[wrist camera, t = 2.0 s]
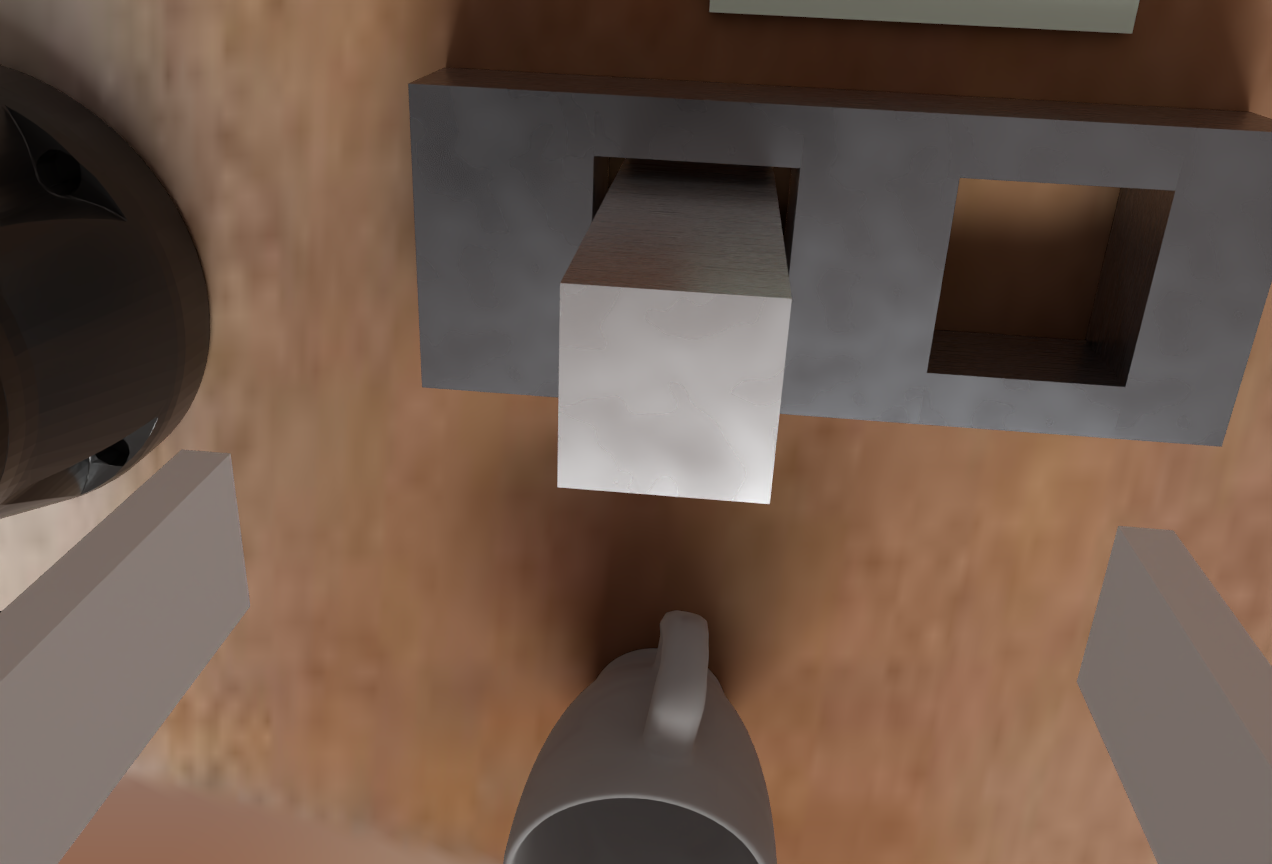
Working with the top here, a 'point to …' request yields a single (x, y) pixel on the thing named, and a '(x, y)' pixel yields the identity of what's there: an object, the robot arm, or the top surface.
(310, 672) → the top surface
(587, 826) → the mug
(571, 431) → the steel peg
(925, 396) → the grey hollow block
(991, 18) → the green pad
